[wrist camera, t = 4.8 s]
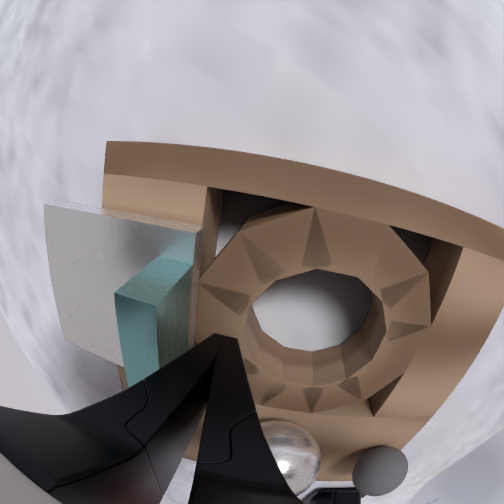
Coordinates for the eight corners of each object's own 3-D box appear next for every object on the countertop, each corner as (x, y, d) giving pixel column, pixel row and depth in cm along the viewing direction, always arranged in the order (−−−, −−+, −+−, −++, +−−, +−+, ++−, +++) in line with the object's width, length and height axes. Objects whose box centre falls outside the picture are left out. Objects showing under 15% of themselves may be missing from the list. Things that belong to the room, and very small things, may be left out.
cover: (192, 377, 11) (166, 435, 8) (73, 331, 12) (35, 367, 9) (204, 226, 9) (156, 266, 6) (56, 199, 9) (-4, 220, 6)
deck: (363, 456, 16) (365, 480, 14) (149, 419, 18) (138, 441, 16) (498, 226, 9) (527, 241, 7) (139, 141, 11) (106, 141, 8)
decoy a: (386, 460, 13) (391, 499, 10) (341, 462, 13) (343, 504, 10) (412, 434, 12) (423, 478, 8) (365, 436, 12) (371, 486, 9)
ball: (305, 449, 13) (302, 512, 9) (231, 438, 13) (214, 501, 9) (333, 409, 11) (337, 488, 7) (242, 395, 12) (221, 476, 7)
